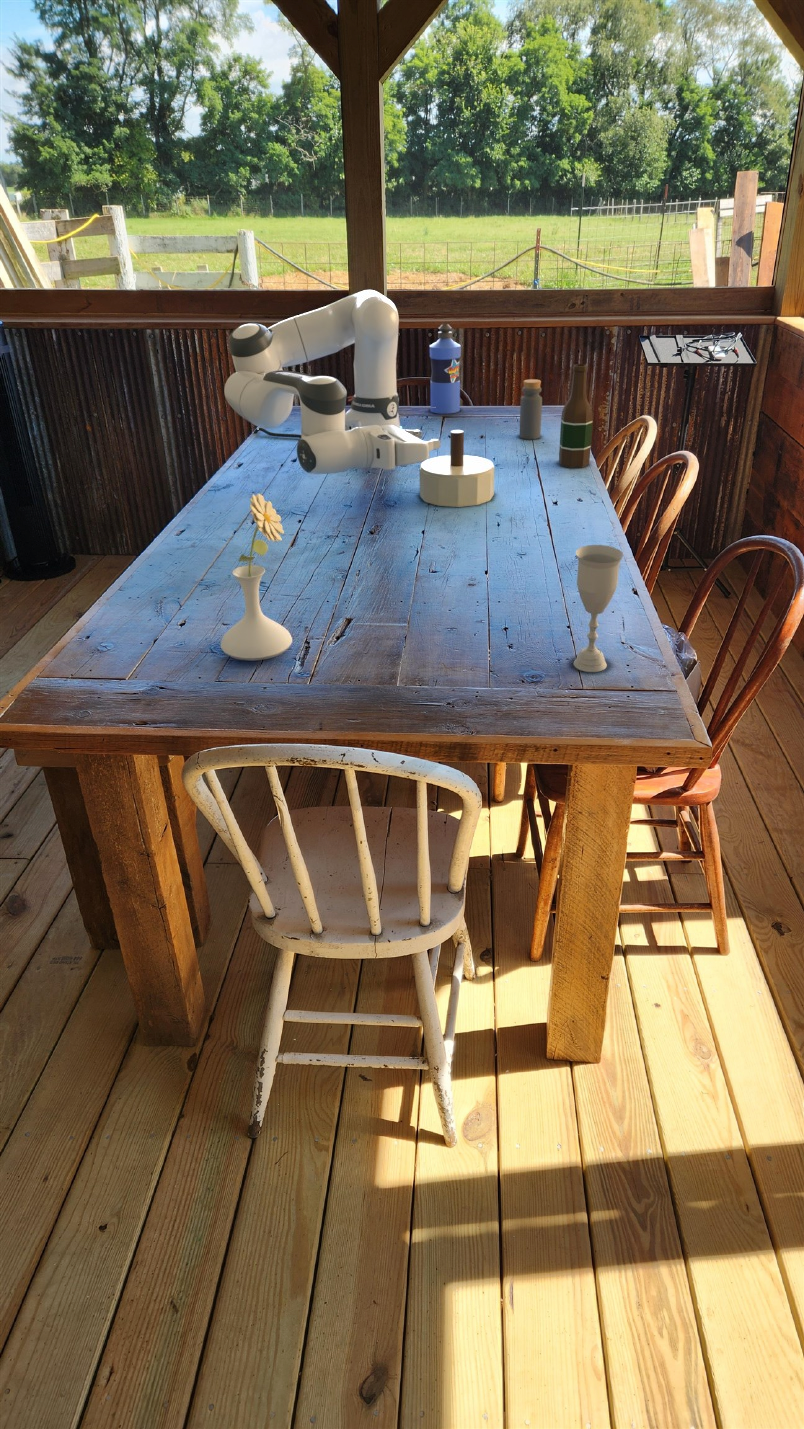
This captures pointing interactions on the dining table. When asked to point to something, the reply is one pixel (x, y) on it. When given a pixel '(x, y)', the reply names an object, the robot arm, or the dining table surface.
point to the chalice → (596, 595)
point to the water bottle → (445, 373)
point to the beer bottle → (576, 423)
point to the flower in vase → (256, 597)
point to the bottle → (530, 410)
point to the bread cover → (456, 477)
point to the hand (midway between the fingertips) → (429, 438)
